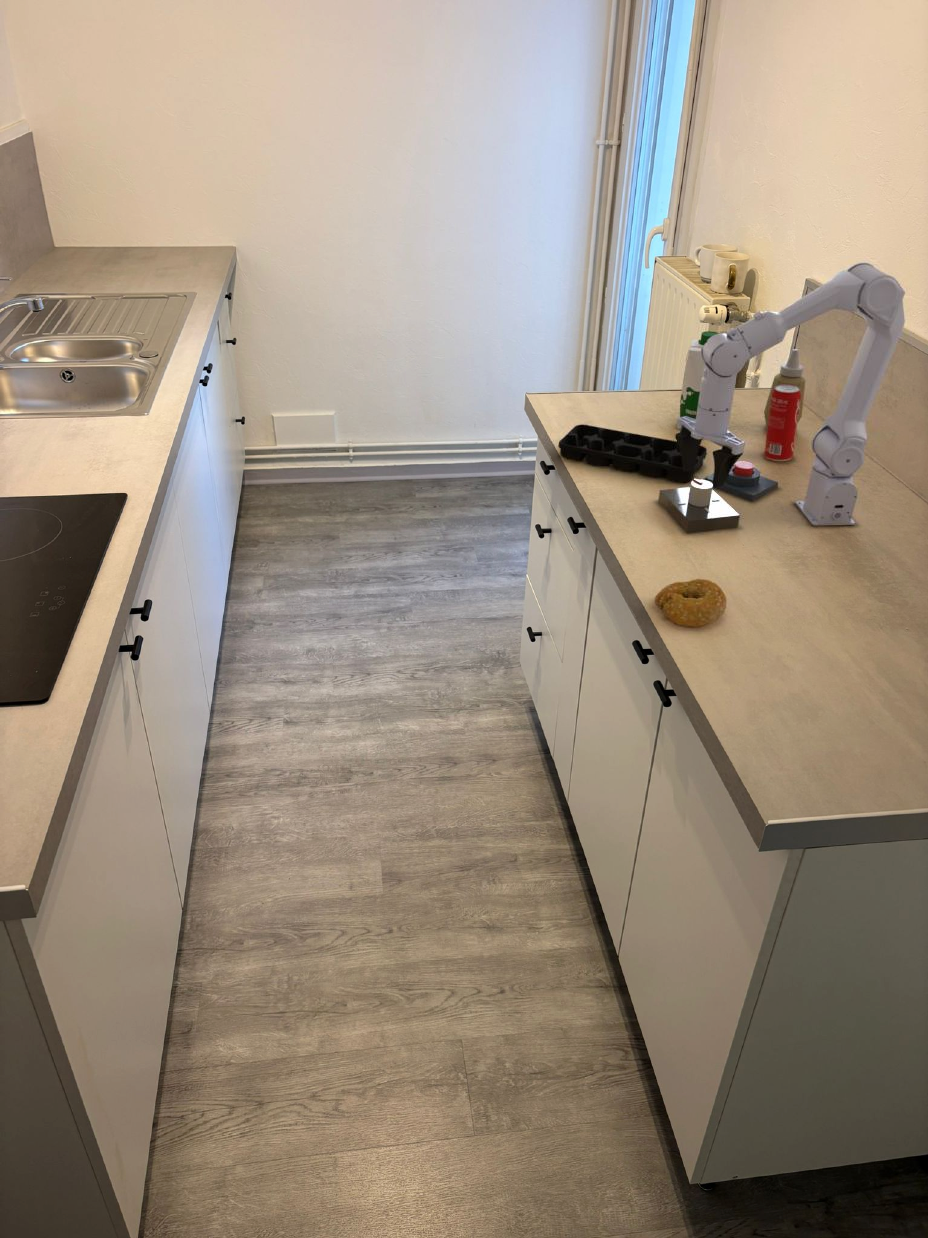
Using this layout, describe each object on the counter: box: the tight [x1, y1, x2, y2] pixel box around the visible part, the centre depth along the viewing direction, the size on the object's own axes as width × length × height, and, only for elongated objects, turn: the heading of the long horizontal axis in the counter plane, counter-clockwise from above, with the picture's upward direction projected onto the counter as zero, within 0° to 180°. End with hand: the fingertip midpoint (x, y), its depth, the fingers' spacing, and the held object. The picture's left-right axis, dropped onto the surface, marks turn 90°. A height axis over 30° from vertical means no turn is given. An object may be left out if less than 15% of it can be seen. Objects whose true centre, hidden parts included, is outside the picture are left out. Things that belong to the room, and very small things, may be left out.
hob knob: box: [688, 478, 714, 507], centre depth 176 cm, size 4×4×4 cm
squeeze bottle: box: [763, 348, 806, 429], centre depth 210 cm, size 8×8×18 cm
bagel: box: [654, 578, 727, 628], centre depth 149 cm, size 10×11×5 cm
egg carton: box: [558, 423, 708, 484], centre depth 198 cm, size 18×30×4 cm, turn 76°
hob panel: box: [657, 486, 741, 534], centre depth 178 cm, size 13×10×3 cm
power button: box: [734, 460, 755, 476], centre depth 188 cm, size 4×4×2 cm
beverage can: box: [764, 384, 801, 462], centre depth 198 cm, size 6×6×15 cm
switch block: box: [704, 464, 779, 503], centre depth 189 cm, size 11×9×3 cm
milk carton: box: [679, 330, 720, 419], centre depth 211 cm, size 9×9×20 cm
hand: (703, 477), depth 175 cm, fingers open, 7 cm apart
